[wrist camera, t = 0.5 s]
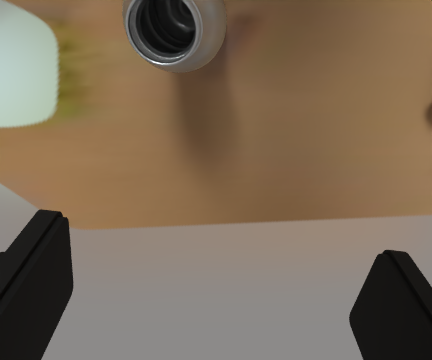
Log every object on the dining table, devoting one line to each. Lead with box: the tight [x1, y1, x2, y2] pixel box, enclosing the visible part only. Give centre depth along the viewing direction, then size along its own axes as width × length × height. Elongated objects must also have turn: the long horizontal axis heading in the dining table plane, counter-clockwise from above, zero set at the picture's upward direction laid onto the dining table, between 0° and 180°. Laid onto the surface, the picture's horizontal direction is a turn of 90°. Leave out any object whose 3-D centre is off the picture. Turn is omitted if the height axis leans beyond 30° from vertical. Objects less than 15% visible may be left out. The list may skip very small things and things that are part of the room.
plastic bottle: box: [122, 0, 227, 73], centre depth 26 cm, size 6×7×20 cm
